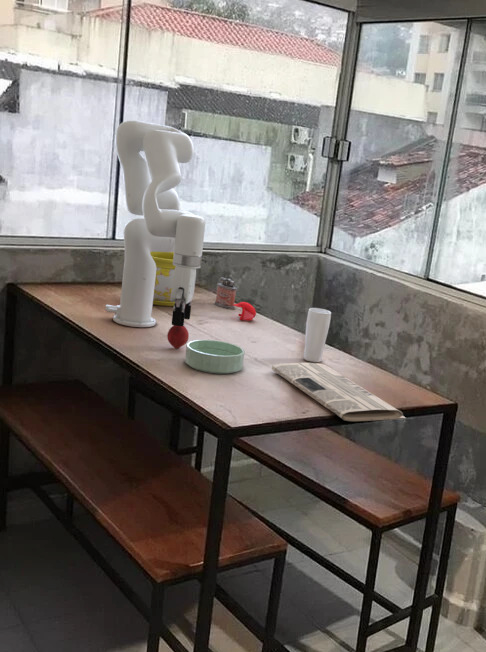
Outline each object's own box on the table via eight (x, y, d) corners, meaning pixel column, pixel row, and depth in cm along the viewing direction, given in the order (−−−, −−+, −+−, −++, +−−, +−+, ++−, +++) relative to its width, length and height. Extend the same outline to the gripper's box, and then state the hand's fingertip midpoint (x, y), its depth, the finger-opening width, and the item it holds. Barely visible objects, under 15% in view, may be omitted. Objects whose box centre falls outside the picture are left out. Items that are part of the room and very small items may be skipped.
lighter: (236, 308, 289) (239, 281, 286) (230, 309, 286) (233, 281, 283) (218, 303, 293) (222, 276, 290) (212, 303, 290) (216, 276, 287)
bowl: (179, 369, 208) (182, 350, 207) (190, 354, 223) (192, 336, 222) (238, 378, 209) (241, 359, 208) (245, 362, 224) (247, 345, 223)
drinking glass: (306, 363, 233) (314, 313, 230) (297, 356, 239) (304, 307, 235) (327, 363, 236) (335, 314, 233) (317, 357, 242) (325, 308, 238)
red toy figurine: (249, 317, 279) (252, 300, 277) (257, 321, 274) (260, 304, 273) (228, 316, 274) (231, 299, 273) (236, 321, 269) (239, 304, 268)
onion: (182, 353, 223) (185, 325, 221) (162, 348, 224) (165, 320, 222) (190, 348, 228) (193, 321, 227) (171, 344, 229) (174, 317, 227)
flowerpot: (122, 297, 276) (127, 250, 273) (160, 293, 292) (165, 248, 288) (161, 310, 268) (167, 261, 264) (198, 305, 283) (203, 259, 279)
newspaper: (271, 372, 219) (272, 362, 218) (332, 371, 229) (333, 362, 228) (340, 422, 189) (342, 410, 188) (407, 418, 199) (409, 408, 198)
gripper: (179, 255, 228) (173, 314, 232) (167, 262, 212) (160, 326, 215) (205, 259, 229) (199, 318, 232) (195, 266, 212) (188, 330, 216)
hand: (180, 322), depth 224 cm, fingers open, 9 cm apart
